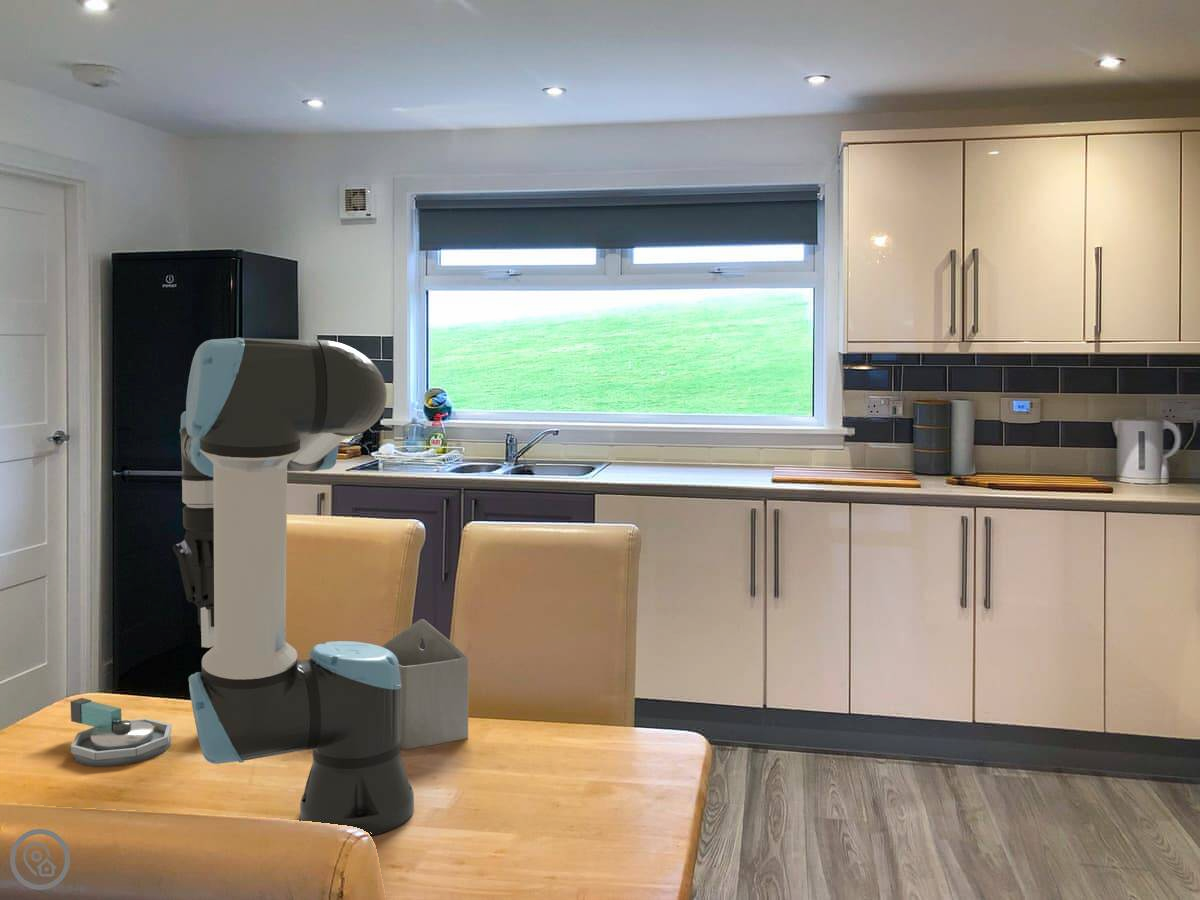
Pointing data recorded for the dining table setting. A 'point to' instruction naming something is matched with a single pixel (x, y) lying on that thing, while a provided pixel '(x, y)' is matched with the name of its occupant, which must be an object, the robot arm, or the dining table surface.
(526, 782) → the dining table surface
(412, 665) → the planter
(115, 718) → the dial
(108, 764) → the housing
